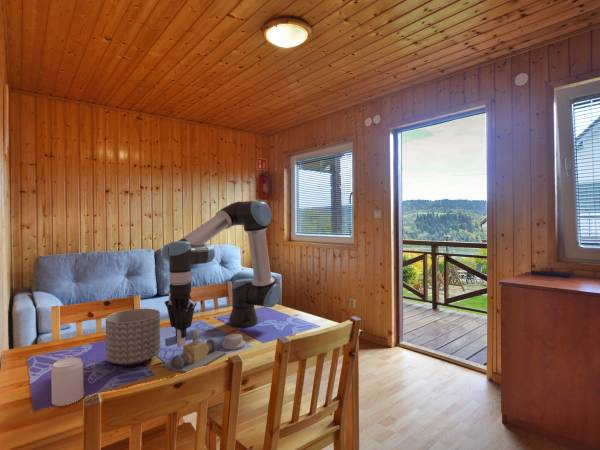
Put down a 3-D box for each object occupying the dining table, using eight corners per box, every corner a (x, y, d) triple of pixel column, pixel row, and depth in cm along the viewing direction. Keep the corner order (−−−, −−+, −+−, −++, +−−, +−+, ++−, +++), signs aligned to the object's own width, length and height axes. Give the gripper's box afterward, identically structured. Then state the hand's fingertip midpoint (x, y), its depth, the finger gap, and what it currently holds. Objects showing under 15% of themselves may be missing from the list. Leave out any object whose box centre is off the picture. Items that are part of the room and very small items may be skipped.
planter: (105, 376, 123) (104, 325, 123) (107, 356, 140) (106, 312, 140) (162, 365, 132) (162, 318, 132) (157, 348, 149) (157, 306, 148)
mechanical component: (218, 349, 149) (240, 351, 147) (218, 339, 149) (240, 341, 147) (227, 341, 159) (248, 342, 156) (227, 331, 158) (248, 333, 156)
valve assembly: (199, 348, 149) (199, 327, 149) (225, 354, 143) (225, 332, 143) (162, 366, 131) (161, 343, 131) (190, 374, 125) (190, 349, 125)
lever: (196, 335, 139) (196, 329, 139) (201, 337, 137) (201, 330, 137) (164, 344, 128) (164, 338, 128) (168, 346, 126) (168, 340, 126)
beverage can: (61, 394, 111) (61, 357, 110) (88, 393, 111) (88, 356, 111) (45, 408, 103) (44, 368, 102) (74, 407, 103) (73, 367, 103)
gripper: (201, 282, 131) (201, 344, 131) (173, 280, 135) (174, 340, 136) (188, 285, 124) (188, 351, 124) (159, 283, 128) (160, 347, 129)
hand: (181, 346), depth 130 cm, fingers closed
